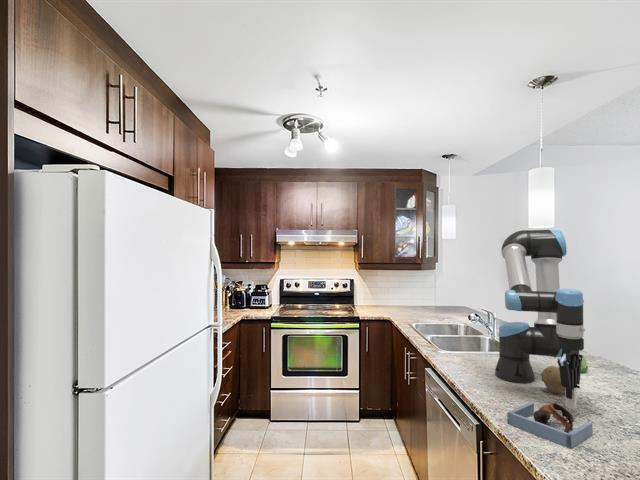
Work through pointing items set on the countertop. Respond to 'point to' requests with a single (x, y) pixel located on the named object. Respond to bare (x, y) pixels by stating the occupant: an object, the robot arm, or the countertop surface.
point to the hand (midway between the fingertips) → (571, 407)
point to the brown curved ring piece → (554, 415)
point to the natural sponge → (552, 379)
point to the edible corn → (583, 365)
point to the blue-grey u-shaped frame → (548, 427)
